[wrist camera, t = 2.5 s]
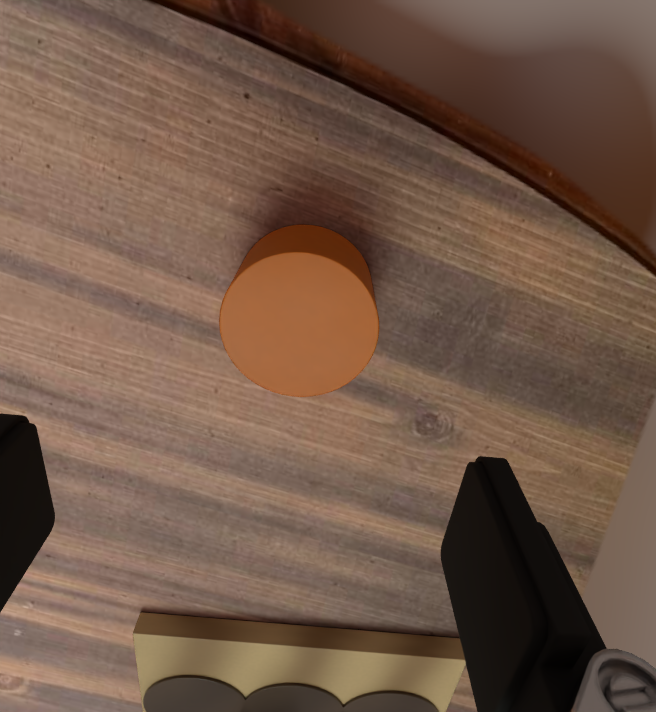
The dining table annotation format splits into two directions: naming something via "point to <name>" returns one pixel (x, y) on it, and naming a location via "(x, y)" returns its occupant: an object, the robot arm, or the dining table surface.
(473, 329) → the dining table surface
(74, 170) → the dining table surface
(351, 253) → the cylinder
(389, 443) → the dining table surface
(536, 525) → the robot arm
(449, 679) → the board
